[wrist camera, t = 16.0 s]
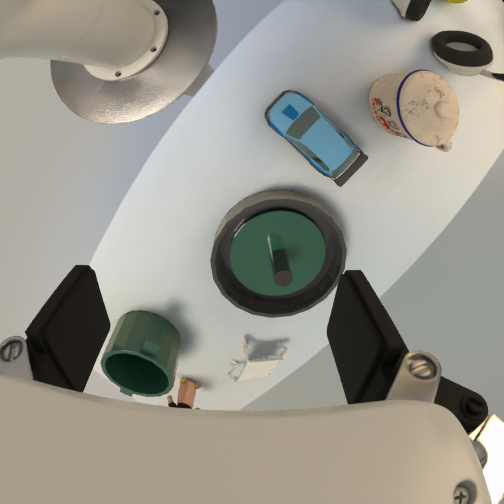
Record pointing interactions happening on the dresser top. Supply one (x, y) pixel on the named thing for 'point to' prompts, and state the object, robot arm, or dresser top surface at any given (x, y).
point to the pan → (283, 303)
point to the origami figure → (255, 365)
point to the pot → (142, 354)
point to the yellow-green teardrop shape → (457, 1)
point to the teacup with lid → (416, 107)
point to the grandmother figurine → (185, 394)
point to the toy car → (314, 136)
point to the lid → (277, 252)
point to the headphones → (454, 44)
